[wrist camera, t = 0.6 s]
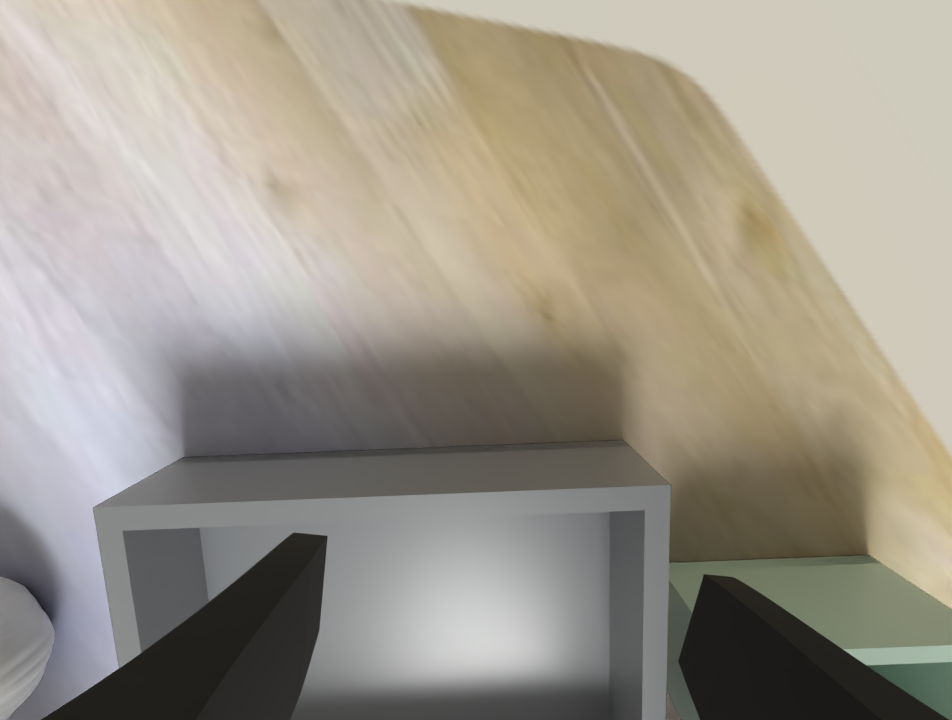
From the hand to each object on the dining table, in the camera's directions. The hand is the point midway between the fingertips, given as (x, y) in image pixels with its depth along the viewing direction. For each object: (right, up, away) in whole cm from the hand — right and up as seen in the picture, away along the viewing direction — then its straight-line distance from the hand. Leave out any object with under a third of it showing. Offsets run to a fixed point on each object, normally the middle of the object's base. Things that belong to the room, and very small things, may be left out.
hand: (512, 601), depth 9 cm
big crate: (-3, -6, +11) cm, 13 cm away
